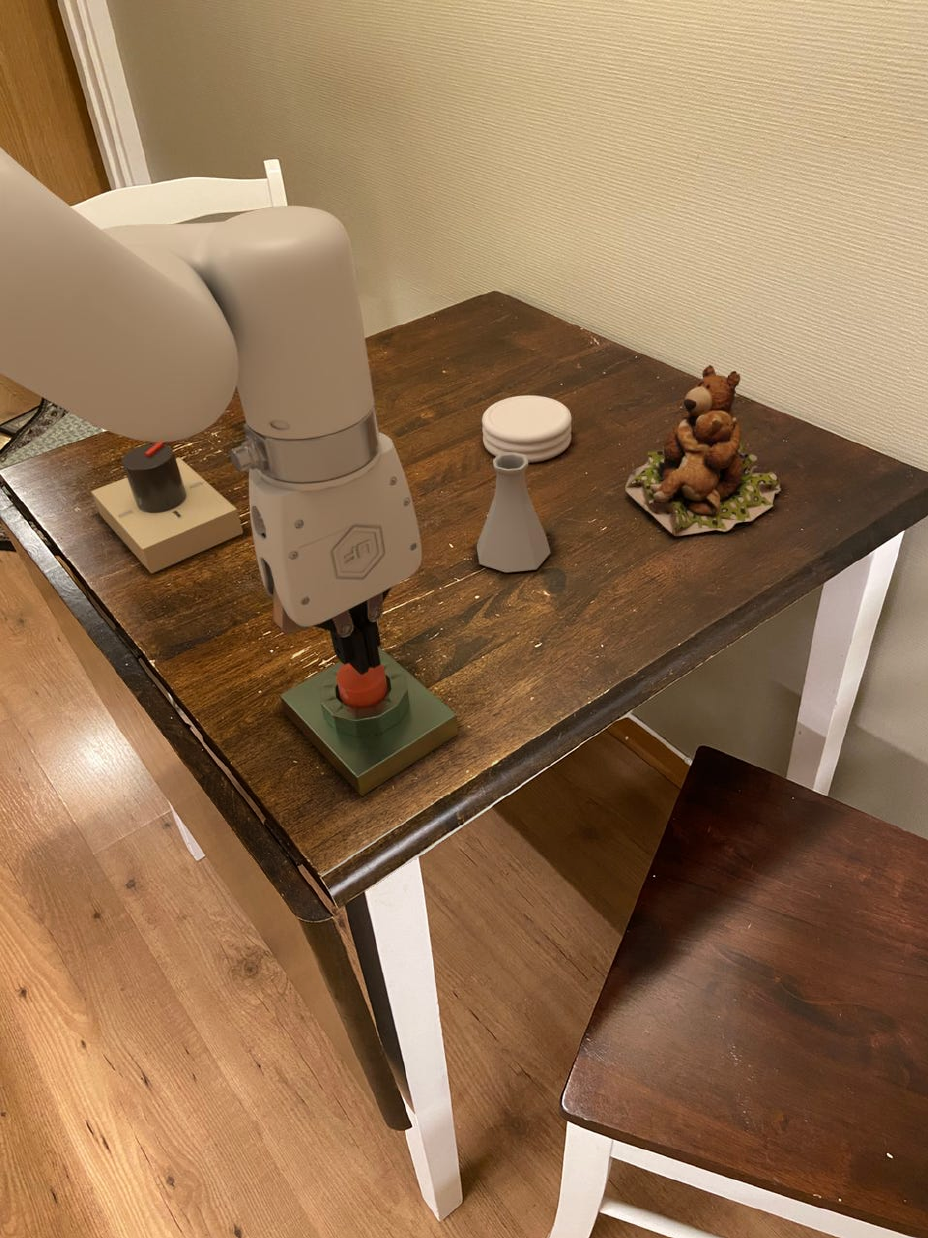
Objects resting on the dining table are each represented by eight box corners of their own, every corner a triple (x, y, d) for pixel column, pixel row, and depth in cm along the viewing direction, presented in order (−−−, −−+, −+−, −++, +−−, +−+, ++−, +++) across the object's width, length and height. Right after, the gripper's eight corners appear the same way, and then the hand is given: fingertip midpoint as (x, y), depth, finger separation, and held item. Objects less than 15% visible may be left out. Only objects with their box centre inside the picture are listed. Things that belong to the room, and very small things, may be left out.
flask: (468, 571, 83) (461, 479, 76) (484, 527, 88) (479, 438, 81) (544, 578, 81) (544, 485, 75) (556, 533, 86) (557, 443, 80)
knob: (167, 516, 87) (151, 470, 84) (126, 508, 89) (109, 462, 86) (196, 490, 91) (182, 444, 87) (156, 483, 92) (141, 437, 89)
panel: (99, 514, 94) (90, 489, 92) (186, 480, 99) (178, 455, 96) (151, 574, 85) (141, 547, 83) (243, 533, 90) (236, 507, 88)
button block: (284, 714, 70) (274, 678, 67) (377, 661, 74) (371, 625, 71) (361, 797, 63) (353, 760, 61) (459, 734, 67) (455, 697, 65)
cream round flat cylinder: (465, 441, 101) (463, 413, 99) (531, 412, 106) (531, 385, 103) (521, 474, 95) (520, 446, 93) (589, 443, 99) (590, 414, 97)
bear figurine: (597, 491, 92) (602, 382, 84) (704, 446, 97) (718, 339, 89) (690, 553, 83) (705, 437, 75) (802, 499, 88) (827, 386, 80)
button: (330, 690, 67) (327, 673, 65) (370, 667, 68) (367, 651, 67) (357, 716, 64) (353, 699, 63) (397, 692, 66) (394, 675, 65)
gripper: (230, 511, 47) (296, 741, 59) (453, 415, 53) (472, 639, 65) (173, 459, 51) (245, 681, 63) (384, 376, 58) (413, 592, 70)
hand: (360, 660), depth 64 cm, fingers closed
